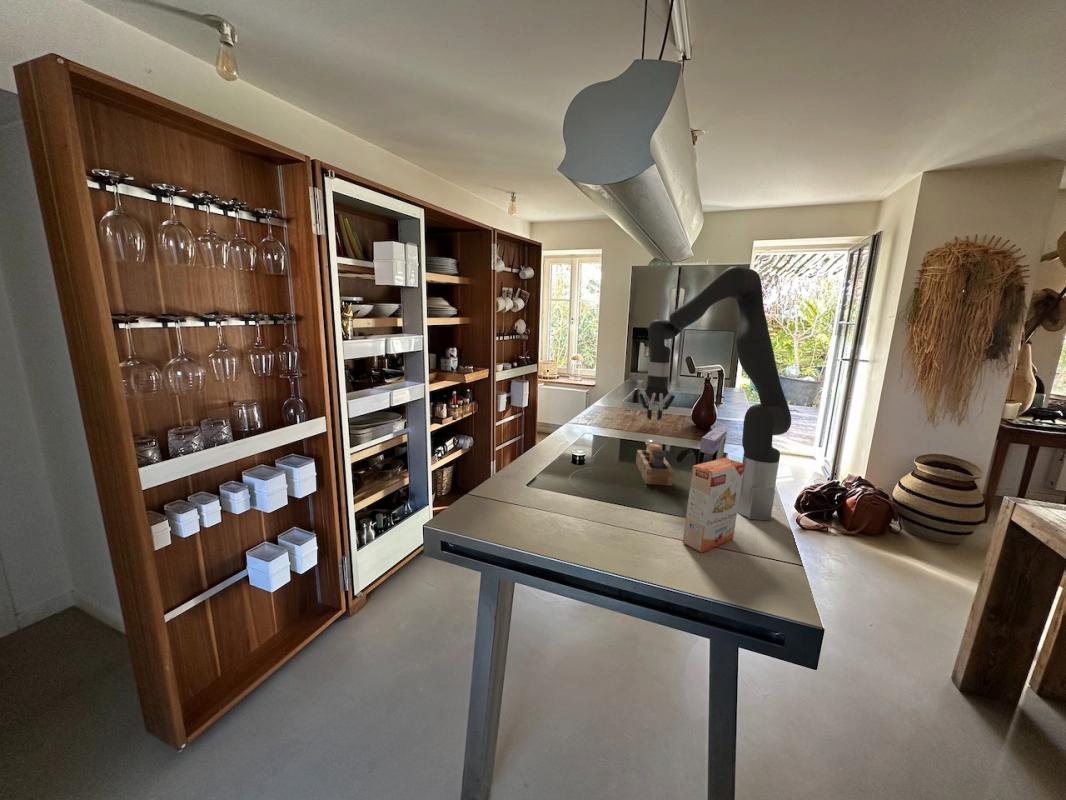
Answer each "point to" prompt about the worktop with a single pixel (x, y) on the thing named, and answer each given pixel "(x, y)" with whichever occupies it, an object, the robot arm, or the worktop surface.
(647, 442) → the steel plug
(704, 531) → the cracker box
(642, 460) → the light wood long tray
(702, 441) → the cake pan box
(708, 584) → the worktop surface
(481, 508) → the worktop surface
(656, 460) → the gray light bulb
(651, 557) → the worktop surface
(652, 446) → the terracotta plug
